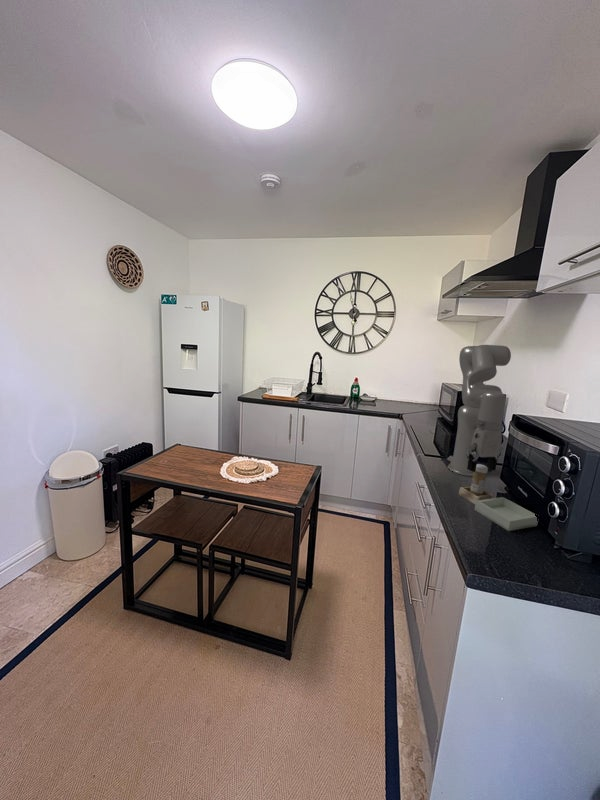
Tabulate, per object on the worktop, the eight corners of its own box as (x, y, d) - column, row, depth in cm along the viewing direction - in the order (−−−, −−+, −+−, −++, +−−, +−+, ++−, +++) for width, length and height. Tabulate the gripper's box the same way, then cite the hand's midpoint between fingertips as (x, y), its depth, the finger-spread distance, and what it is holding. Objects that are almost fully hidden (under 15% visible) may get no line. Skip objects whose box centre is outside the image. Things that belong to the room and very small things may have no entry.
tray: (474, 509, 111) (476, 500, 110) (501, 505, 115) (503, 497, 114) (508, 531, 99) (510, 521, 98) (536, 525, 103) (539, 516, 102)
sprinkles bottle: (466, 495, 121) (471, 463, 119) (476, 495, 122) (482, 463, 119) (473, 501, 117) (479, 468, 114) (484, 501, 117) (491, 468, 115)
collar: (458, 494, 122) (459, 487, 121) (474, 492, 125) (475, 485, 124) (476, 505, 114) (477, 497, 114) (492, 502, 117) (494, 495, 116)
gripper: (479, 428, 107) (471, 475, 110) (515, 427, 113) (507, 472, 116) (462, 423, 114) (455, 467, 117) (496, 422, 120) (489, 464, 123)
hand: (481, 469), depth 116 cm, fingers open, 9 cm apart
